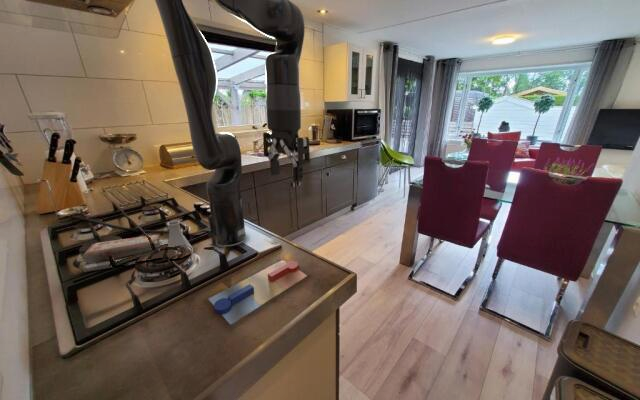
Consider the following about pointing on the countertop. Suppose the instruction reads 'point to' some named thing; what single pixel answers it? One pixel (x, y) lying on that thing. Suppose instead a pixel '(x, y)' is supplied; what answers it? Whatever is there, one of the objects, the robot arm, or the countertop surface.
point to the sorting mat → (258, 291)
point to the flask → (176, 235)
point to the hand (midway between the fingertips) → (286, 177)
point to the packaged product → (118, 251)
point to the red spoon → (283, 271)
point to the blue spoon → (232, 300)
